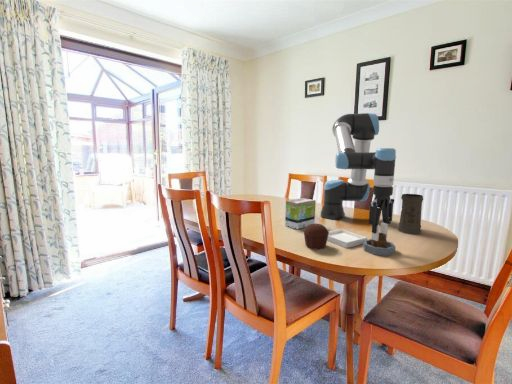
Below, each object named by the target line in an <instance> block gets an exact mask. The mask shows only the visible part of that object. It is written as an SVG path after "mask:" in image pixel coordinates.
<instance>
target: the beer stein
mask: <svg viewBox="0 0 512 384" xmlns="http://www.w3.org/2000/svg"><path fill="white" fill-rule="evenodd" d="M400 198H401V211H400V217H399V218H400V219H399V222H398V227H397V230H398V232H400V233H404V234H408V235H418V234H421V233H422V229H421V228H422V225H421V224H422V208H423V206H422V204H423V201H424V196H423V195H422V194H417V193H416V194H415V193H403V194H401V197H400Z"/></svg>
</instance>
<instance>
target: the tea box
mask: <svg viewBox="0 0 512 384" xmlns="http://www.w3.org/2000/svg"><path fill="white" fill-rule="evenodd" d="M316 203H317V201H316V200H315V199H310V198H303V197H300V198H296V199H290V200H289V199H288V200H285V213H284V214H285V216H284V219H285V220H284V225H285V226H286V227H288V226H289V228H291V229H292V228H293V229H295V228H296V229H295V230H299V229H302V228H306V227H307V226H308V225H310V224H316V223H315V221H316V219H315V218H316Z"/></svg>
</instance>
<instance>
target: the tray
mask: <svg viewBox="0 0 512 384" xmlns="http://www.w3.org/2000/svg"><path fill="white" fill-rule="evenodd" d="M328 232H329V234H328V238H327V242H330V243H332V244H335V245H338V246H340V247H342V248H344V249H348V248H352V247H356V246H359V245H363V242H364V240H368V237H367V236H364V235H361V234H358V233H355V232H352V231H349V230H346V229H343V228H338V229H334V230H333V229H332V230H328Z"/></svg>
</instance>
